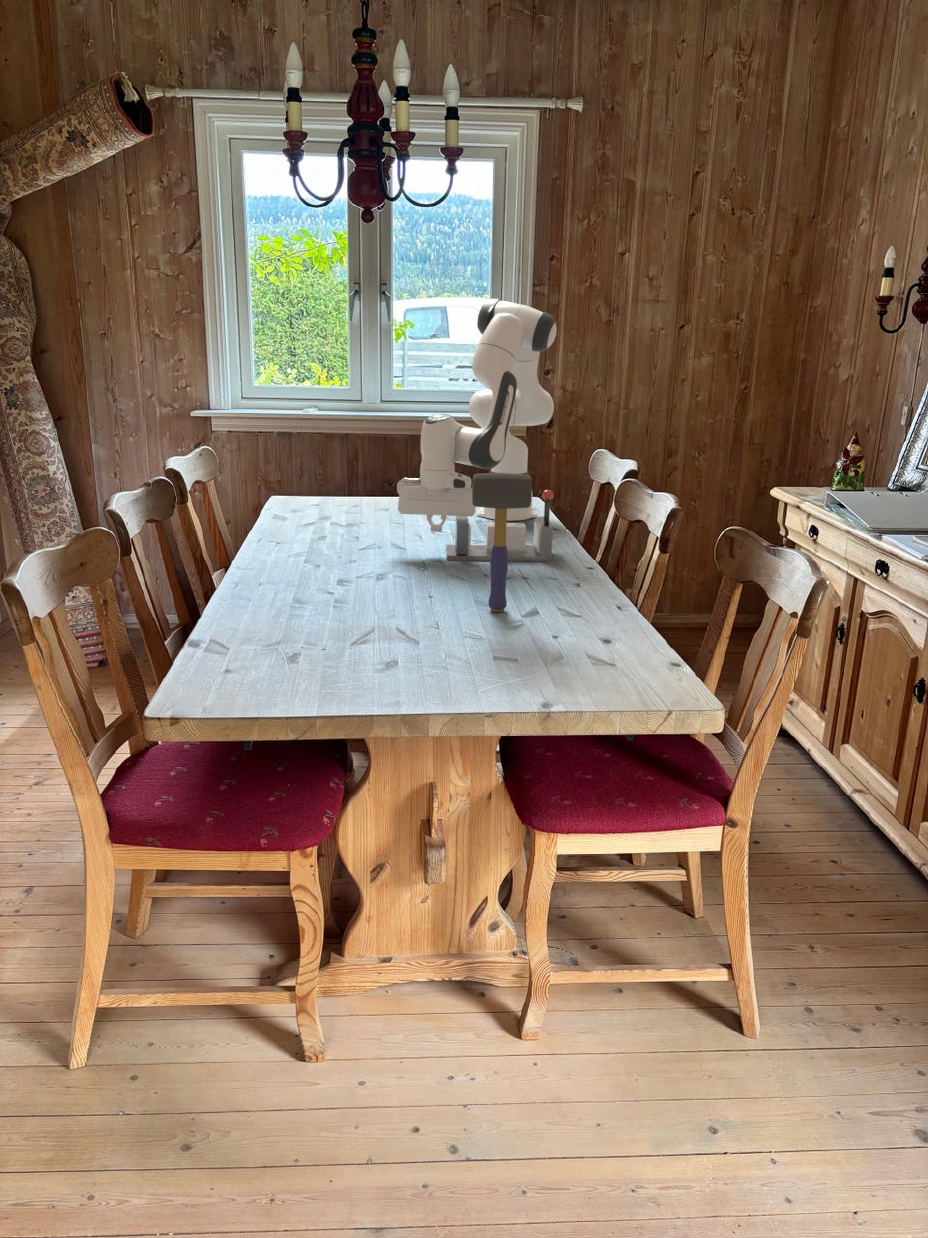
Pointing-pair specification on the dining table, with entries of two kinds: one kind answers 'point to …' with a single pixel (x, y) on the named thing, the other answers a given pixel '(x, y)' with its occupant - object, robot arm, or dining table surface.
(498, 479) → the rubber mallet
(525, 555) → the vise
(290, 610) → the dining table surface
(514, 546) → the block
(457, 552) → the block
